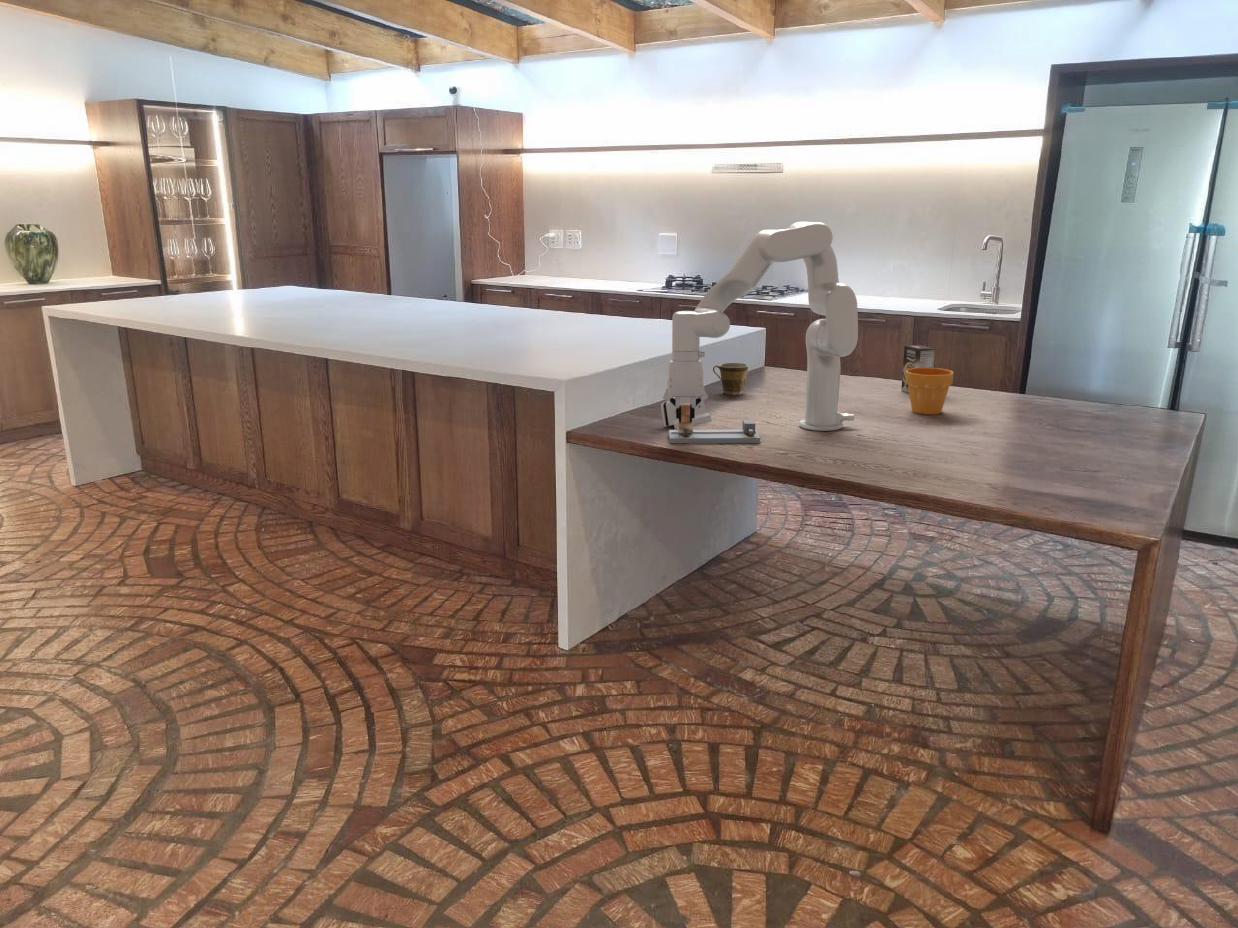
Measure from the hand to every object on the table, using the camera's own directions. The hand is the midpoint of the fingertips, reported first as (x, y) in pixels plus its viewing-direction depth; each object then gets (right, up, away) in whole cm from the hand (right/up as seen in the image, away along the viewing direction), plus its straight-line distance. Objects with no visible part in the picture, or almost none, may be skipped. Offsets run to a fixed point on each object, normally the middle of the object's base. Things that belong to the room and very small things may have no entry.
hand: (685, 420), depth 252 cm
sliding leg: (0, -4, -1) cm, 4 cm away
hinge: (+1, 0, +20) cm, 20 cm away
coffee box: (+85, +13, +60) cm, 105 cm away
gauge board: (+8, -5, 0) cm, 10 cm away
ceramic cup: (+20, +13, +64) cm, 68 cm away
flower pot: (+79, +4, +31) cm, 84 cm away
